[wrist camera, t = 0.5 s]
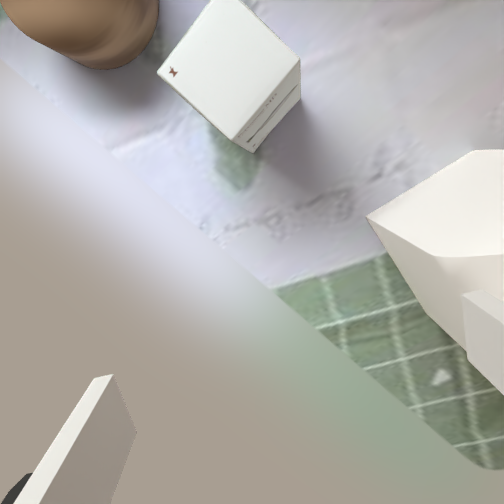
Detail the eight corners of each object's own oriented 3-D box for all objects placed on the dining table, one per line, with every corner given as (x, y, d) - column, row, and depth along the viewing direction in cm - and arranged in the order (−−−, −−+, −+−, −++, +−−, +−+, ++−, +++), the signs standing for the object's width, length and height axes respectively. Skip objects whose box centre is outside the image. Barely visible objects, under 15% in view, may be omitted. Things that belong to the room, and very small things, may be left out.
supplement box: (252, 156, 39) (229, 145, 26) (200, 105, 39) (151, 70, 26) (304, 98, 37) (303, 58, 25) (248, 45, 37) (221, -22, 25)
